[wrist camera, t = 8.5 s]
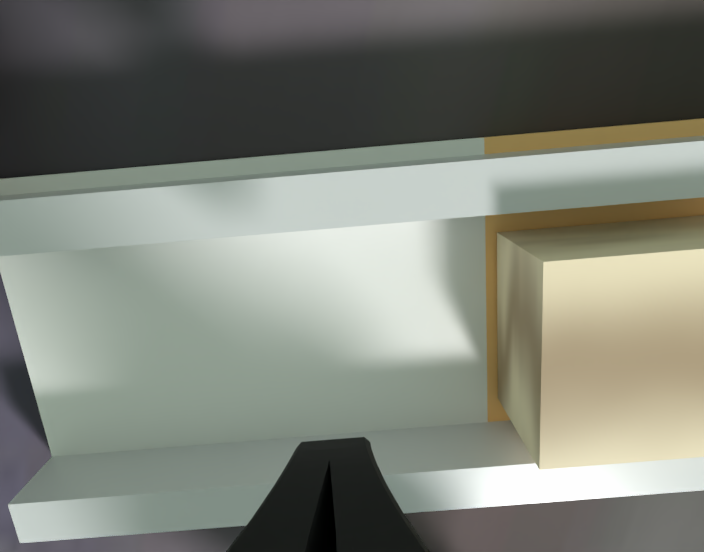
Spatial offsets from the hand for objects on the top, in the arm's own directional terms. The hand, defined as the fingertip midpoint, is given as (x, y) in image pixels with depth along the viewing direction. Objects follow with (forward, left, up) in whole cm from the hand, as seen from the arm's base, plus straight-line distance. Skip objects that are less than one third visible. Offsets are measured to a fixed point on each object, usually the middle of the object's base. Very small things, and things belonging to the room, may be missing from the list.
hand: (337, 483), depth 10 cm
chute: (0, -3, -9) cm, 9 cm away
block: (0, -9, -8) cm, 12 cm away
